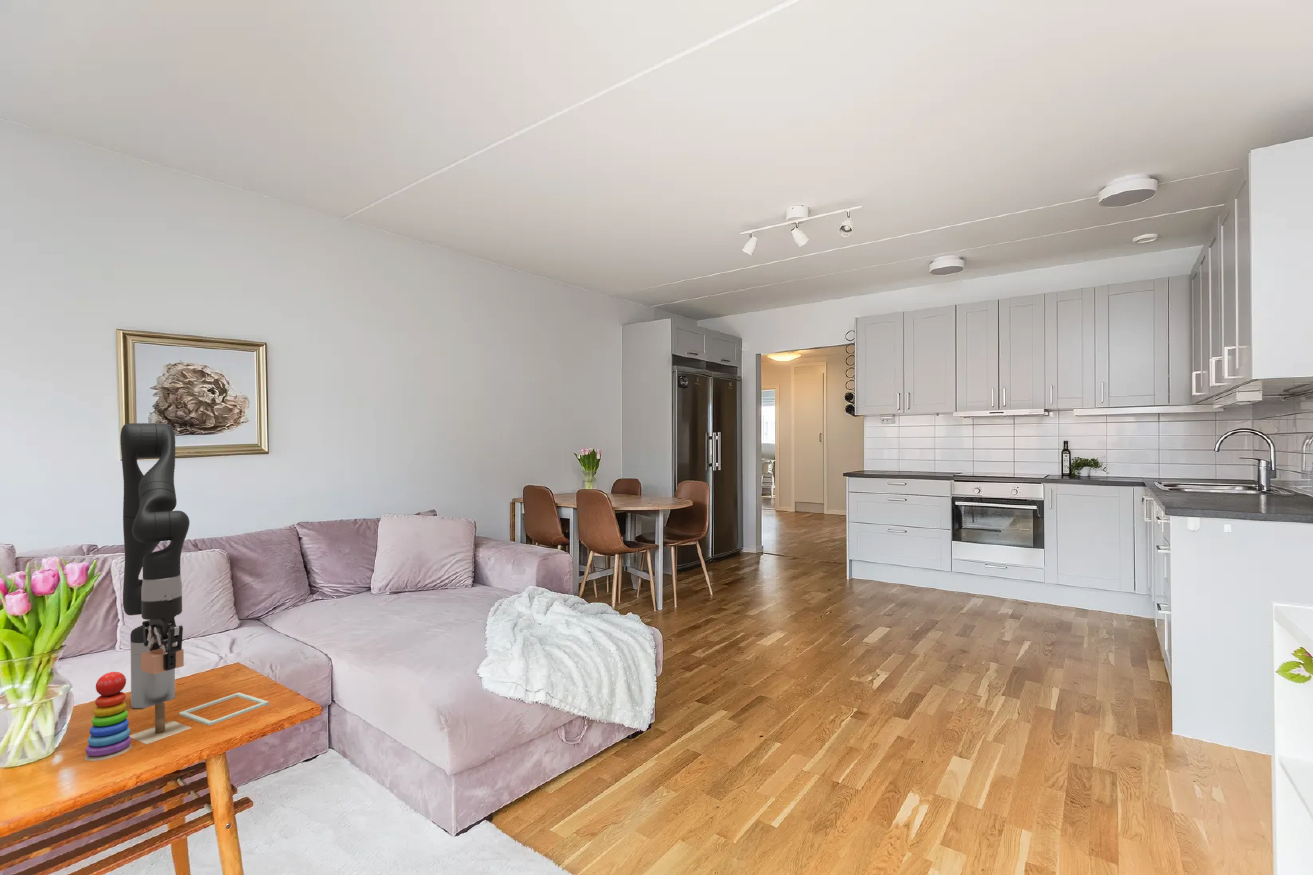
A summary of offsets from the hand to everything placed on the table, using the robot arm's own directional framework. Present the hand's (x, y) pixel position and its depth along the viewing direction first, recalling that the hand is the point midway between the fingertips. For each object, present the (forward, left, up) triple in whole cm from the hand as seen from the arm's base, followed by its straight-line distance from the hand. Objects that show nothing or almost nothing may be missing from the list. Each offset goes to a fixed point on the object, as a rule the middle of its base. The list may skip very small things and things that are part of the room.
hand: (162, 666), depth 146 cm
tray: (0, +13, -16) cm, 21 cm away
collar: (0, 0, 0) cm, 0 cm away
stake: (0, -1, -16) cm, 16 cm away
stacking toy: (+1, -11, -17) cm, 20 cm away
